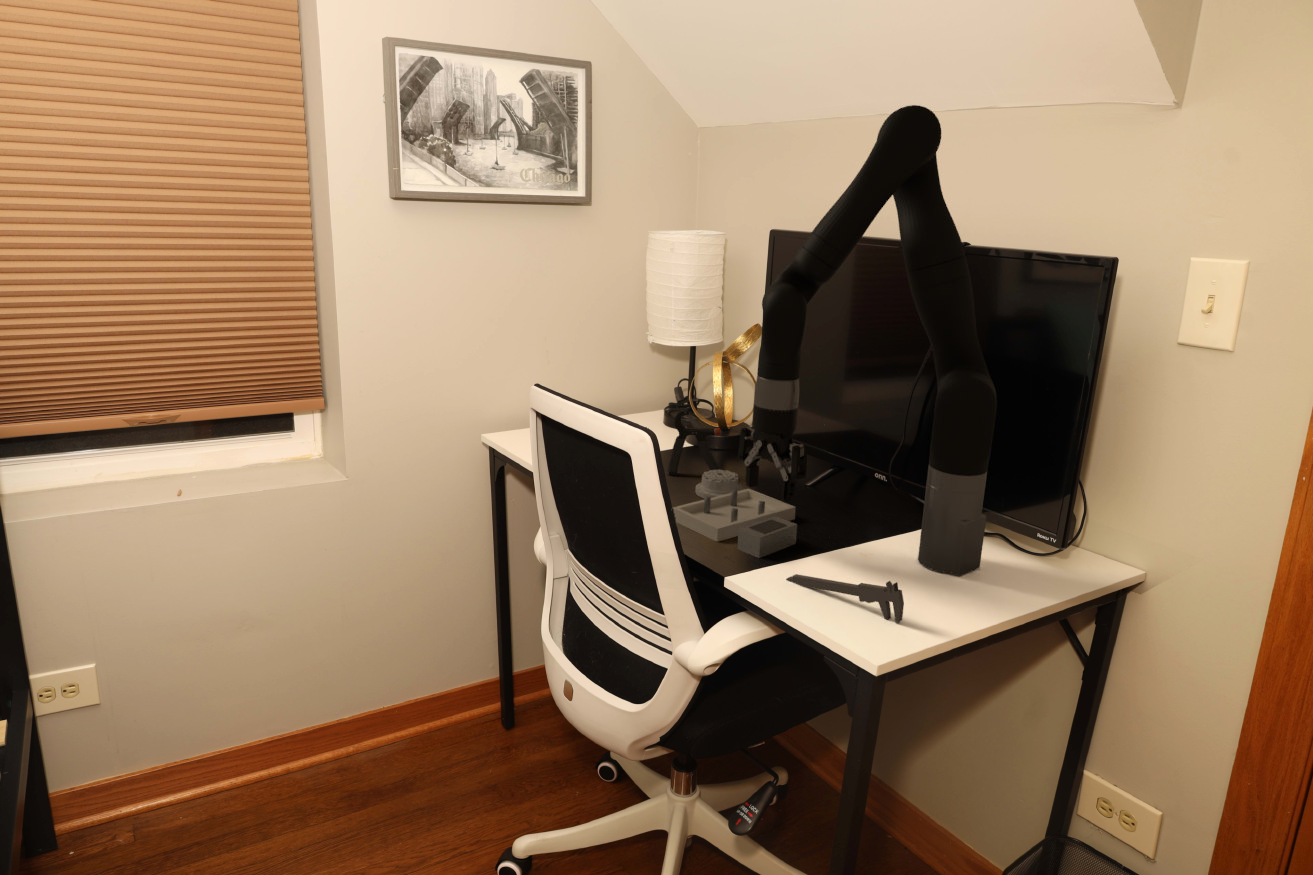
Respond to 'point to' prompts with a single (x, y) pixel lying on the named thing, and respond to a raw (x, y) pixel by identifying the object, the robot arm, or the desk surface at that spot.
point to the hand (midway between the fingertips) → (768, 493)
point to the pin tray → (731, 513)
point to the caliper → (860, 593)
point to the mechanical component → (717, 483)
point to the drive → (767, 536)
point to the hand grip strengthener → (701, 441)
